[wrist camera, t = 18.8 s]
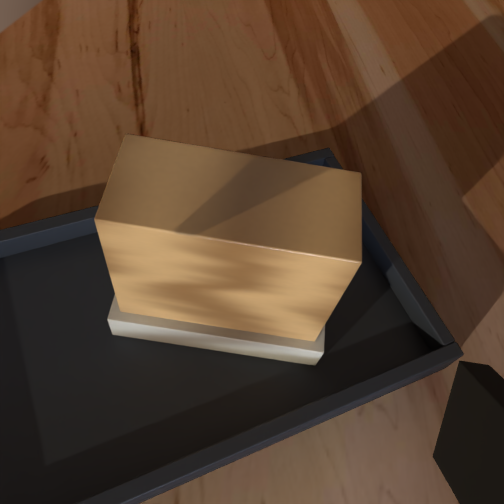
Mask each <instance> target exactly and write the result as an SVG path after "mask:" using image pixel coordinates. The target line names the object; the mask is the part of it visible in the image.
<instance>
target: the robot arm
mask: <svg viewBox="0 0 504 504" xmlns="http://www.w3.org/2000/svg"><path fill="white" fill-rule="evenodd" d="M433 458H434V460H435V461H436V463H437V465H438V467H439V468H440V470H441V472H442V474H443V475H444V477H445V479H446V481H447V482H448V484H449V486H450V487H451V489H452V491H453V493H454V494H455V496H456V498H457V500H458V501H459V503H460V504H504V379H503V378H502V377H501V376H500V375H499V374H498V373H497V372H496V371H495V370H494V369H493V368H492V367H491V366H489V365H485V364H478V363H472V362H465V361H459V364H458V368H457V371H456V375H455V378H454V382H453V386H452V389H451V393H450V396H449V400H448V403H447V407H446V411H445V414H444V418H443V421H442V425H441V428H440V432H439V436H438V439H437V443H436V446H435V450H434V453H433Z"/></svg>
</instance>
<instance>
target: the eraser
mask: <svg viewBox="0 0 504 504" xmlns="http://www.w3.org/2000/svg"><path fill="white" fill-rule="evenodd" d="M94 221H95V225H96V228H97V232H98V235H99V239H100V242H101V246H102V249H103V253H104V256H105V260H106V263H107V267H108V270H109V274H110V278H111V281H112V285H113V288H114V292H115V296H114V299H113V302H112V305H111V309H110V312H109V315H108V319H107V320H108V323H109V326H110V329H111V332H112V334H113V335H118V336H125V337H131V338H138V339H144V340H151V341H158V342H164V343H171V344H177V345H184V346H190V347H197V348H203V349H210V350H216V351H223V352H229V353H236V354H242V355H249V356H255V357H262V358H268V359H275V360H281V361H288V362H294V363H301V364H307V365H314V366H315V365H316V364H317V362H318V361H319V359H320V358H321V357H322V355H323V354H324V342H325V324H326V322H327V320H328V319H329V317H330V315H331V314H332V312H333V310H334V308H335V307H336V305H337V303H338V302H339V300H340V298H341V297H342V295H343V293H344V292H345V290H346V288H347V287H348V285H349V283H350V282H351V280H352V278H353V277H354V275H355V273H356V272H357V270H358V268H359V267H360V265H361V263H362V174H361V173H360V172H354V171H348V170H342V169H336V168H330V167H324V166H318V165H312V164H306V163H300V162H294V161H288V160H282V159H276V158H270V157H264V156H258V155H252V154H246V153H240V152H234V151H228V150H222V149H216V148H210V147H204V146H198V145H192V144H186V143H180V142H174V141H168V140H162V139H156V138H150V137H144V136H138V135H132V134H125V136H124V139H123V141H122V144H121V147H120V150H119V152H118V155H117V158H116V161H115V163H114V166H113V169H112V172H111V174H110V177H109V180H108V183H107V185H106V188H105V191H104V194H103V196H102V199H101V202H100V204H99V207H98V210H97V213H96V215H95V218H94Z"/></svg>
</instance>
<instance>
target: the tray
mask: <svg viewBox="0 0 504 504" xmlns="http://www.w3.org/2000/svg"><path fill="white" fill-rule="evenodd" d="M282 160H288V161H294V162H300V163H306V164H312V165H318V166H324V167H330V168H336V169H342V170H343V168H342V167H341V165H340V164H339V162H338V161H337V159H336V158H335V157H334V154H333V153H332V151H331V150H330V148H325V149H321V150H317V151H313V152H310V153H306V154H302V155H298V156H294V157H290V158H286V159H282ZM98 207H99V205H98V206H94V207H90V208H86V209H82V210H78V211H74V212H70V213H66V214H62V215H58V216H54V217H50V218H46V219H42V220H38V221H34V222H30V223H26V224H22V225H18V226H14V227H10V228H6V229H2V230H0V504H139V503H141V502H143V501H146V500H148V499H150V498H152V497H155V496H157V495H159V494H161V493H164V492H166V491H168V490H170V489H173V488H175V487H177V486H179V485H182V484H184V483H186V482H189V481H191V480H193V479H195V478H198V477H200V476H202V475H204V474H207V473H209V472H211V471H213V470H216V469H218V468H220V467H222V466H225V465H227V464H229V463H232V462H234V461H236V460H238V459H241V458H243V457H245V456H247V455H250V454H252V453H254V452H256V451H259V450H261V449H263V448H265V447H268V446H270V445H272V444H275V443H277V442H279V441H281V440H284V439H286V438H288V437H290V436H293V435H295V434H297V433H299V432H302V431H304V430H306V429H309V428H311V427H313V426H315V425H318V424H320V423H322V422H324V421H327V420H329V419H331V418H333V417H336V416H338V415H340V414H342V413H345V412H347V411H349V410H352V409H354V408H356V407H358V406H361V405H363V404H365V403H367V402H370V401H372V400H374V399H376V398H379V397H381V396H383V395H385V394H388V393H390V392H392V391H395V390H397V389H399V388H401V387H404V386H406V385H408V384H410V383H413V382H415V381H417V380H419V379H422V378H424V377H426V376H428V375H431V374H433V373H435V372H438V371H440V370H442V369H444V368H446V367H447V366H449V365H450V364H451V363H453V362H454V361H456V360H457V359H458V358H460V357H461V356H463V355H464V353H463V352H462V350H461V349H460V347H459V345H458V344H457V343H456V342H454V341H455V340H454V338H453V336H452V335H451V333H450V332H449V330H448V329H447V327H446V326H445V324H444V323H443V321H442V320H441V318H440V317H439V315H438V314H437V312H436V310H435V309H434V307H433V306H432V304H431V303H430V301H429V300H428V298H427V297H426V295H425V294H424V292H423V291H422V289H421V288H420V286H419V285H418V283H417V281H416V280H415V278H414V277H413V275H412V274H411V272H410V271H409V269H408V268H407V266H406V265H405V263H404V262H403V260H402V259H401V257H400V256H399V254H398V252H397V251H396V249H395V248H394V246H393V245H392V243H391V242H390V240H389V239H388V237H387V236H386V234H385V233H384V231H383V230H382V228H381V226H380V225H379V223H378V222H377V220H376V219H375V217H374V216H373V214H372V213H371V211H370V210H369V208H368V207H367V205H366V204H365V202H364V201H363V199H362V263H361V265H360V267H359V268H358V270H357V272H356V273H355V275H354V277H353V278H352V280H351V282H350V283H349V285H348V287H347V288H346V290H345V292H344V293H343V295H342V297H341V298H340V300H339V302H338V303H337V305H336V307H335V308H334V310H333V312H332V314H331V315H330V317H329V319H328V320H327V322H326V324H325V342H324V354H323V355H322V357H321V358H320V359H319V361H318V362H317V364H316V365H315V366H314V365H307V364H301V363H294V362H288V361H281V360H275V359H268V358H262V357H255V356H249V355H242V354H236V353H229V352H223V351H216V350H210V349H203V348H197V347H190V346H184V345H177V344H171V343H164V342H158V341H151V340H144V339H138V338H131V337H125V336H118V335H113V334H112V332H111V329H110V326H109V323H108V320H107V319H108V315H109V312H110V309H111V305H112V302H113V299H114V296H115V292H114V288H113V285H112V281H111V278H110V274H109V270H108V267H107V263H106V260H105V256H104V253H103V249H102V246H101V242H100V239H99V235H98V232H97V228H96V225H95V221H94V218H95V215H96V213H97V210H98Z"/></svg>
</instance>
